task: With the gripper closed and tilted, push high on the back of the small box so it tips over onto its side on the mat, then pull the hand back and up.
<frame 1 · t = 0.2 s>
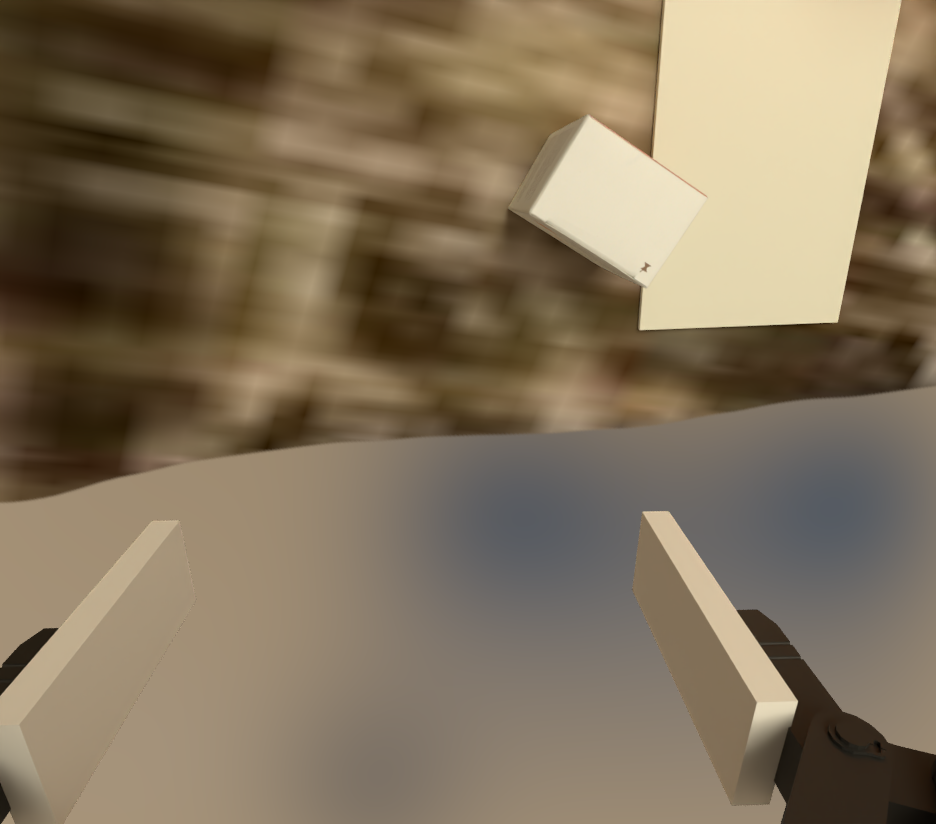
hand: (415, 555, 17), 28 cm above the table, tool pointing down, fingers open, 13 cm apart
mat: (760, 149, 39), on the table
small box: (574, 202, 40), on the table
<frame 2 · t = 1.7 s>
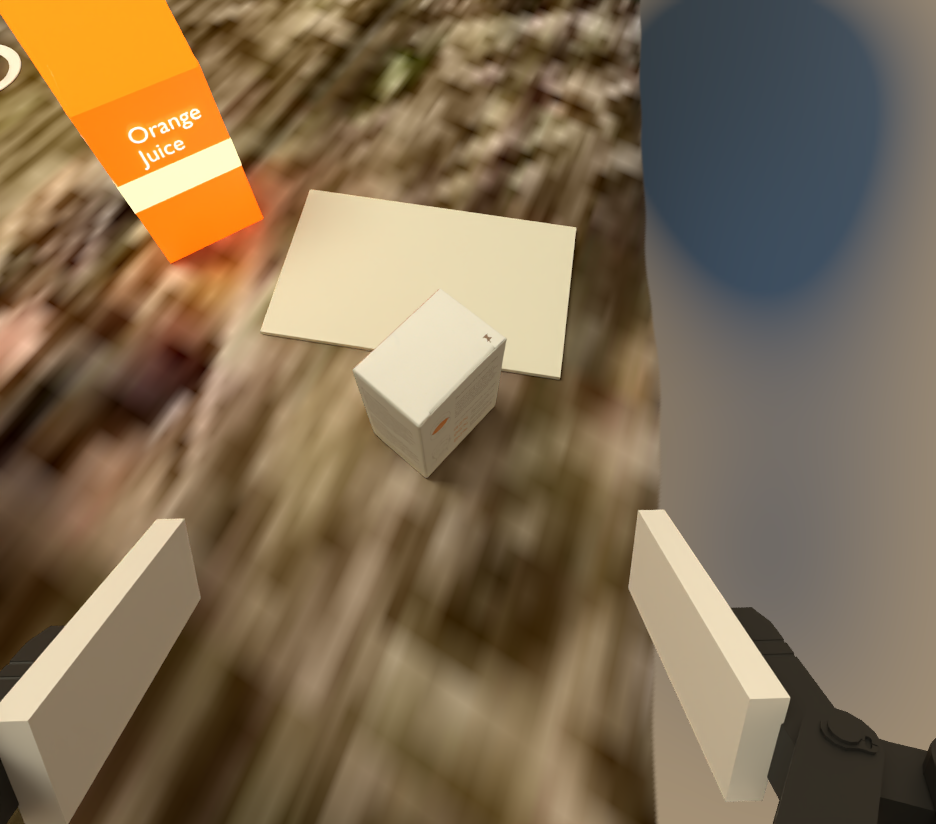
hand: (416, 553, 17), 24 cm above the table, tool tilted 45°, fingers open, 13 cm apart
mat: (426, 279, 49), on the table
orange juice: (200, 214, 52), on the table
small box: (435, 421, 44), on the table
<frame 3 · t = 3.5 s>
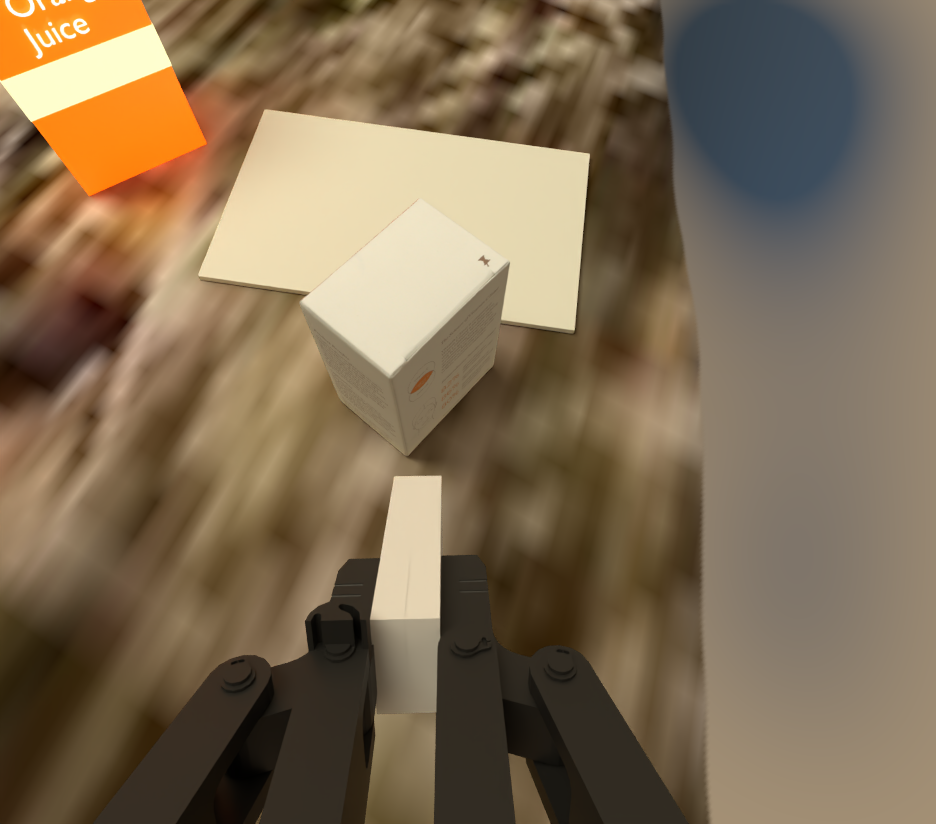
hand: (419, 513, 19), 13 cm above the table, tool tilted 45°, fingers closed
mat: (407, 214, 40), on the table
orange juice: (129, 139, 42), on the table
small box: (417, 385, 35), on the table
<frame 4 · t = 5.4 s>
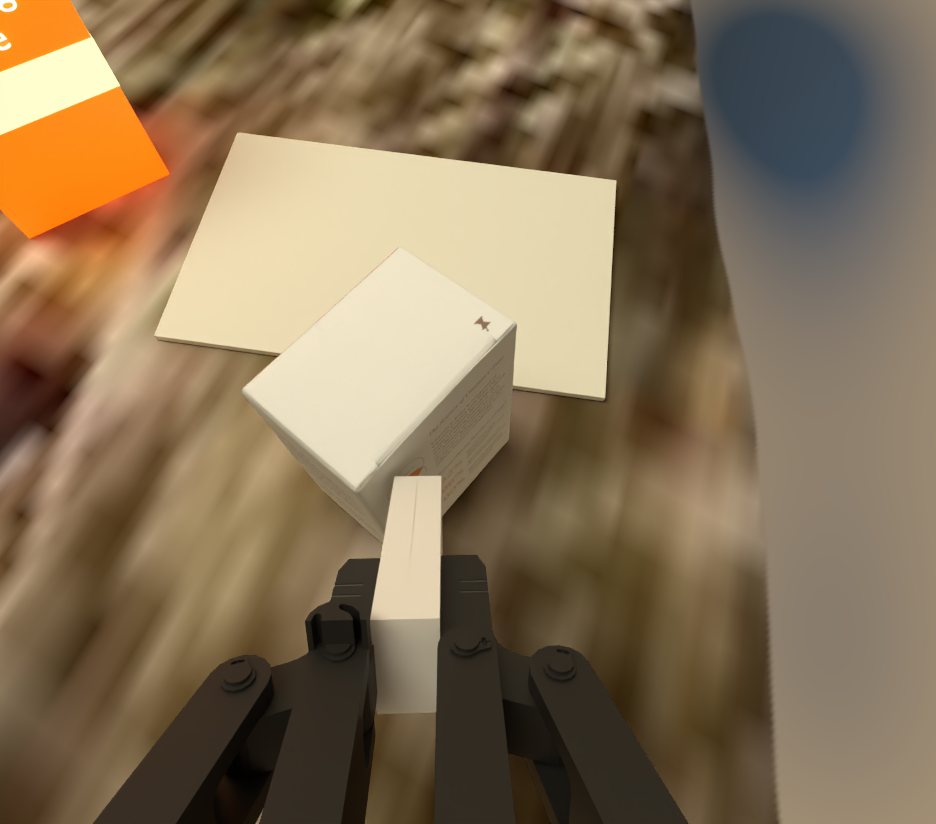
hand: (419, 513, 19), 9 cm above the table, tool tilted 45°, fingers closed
mat: (403, 256, 34), on the table
orange juice: (79, 169, 36), on the table
small box: (417, 467, 29), on the table, touching gripper
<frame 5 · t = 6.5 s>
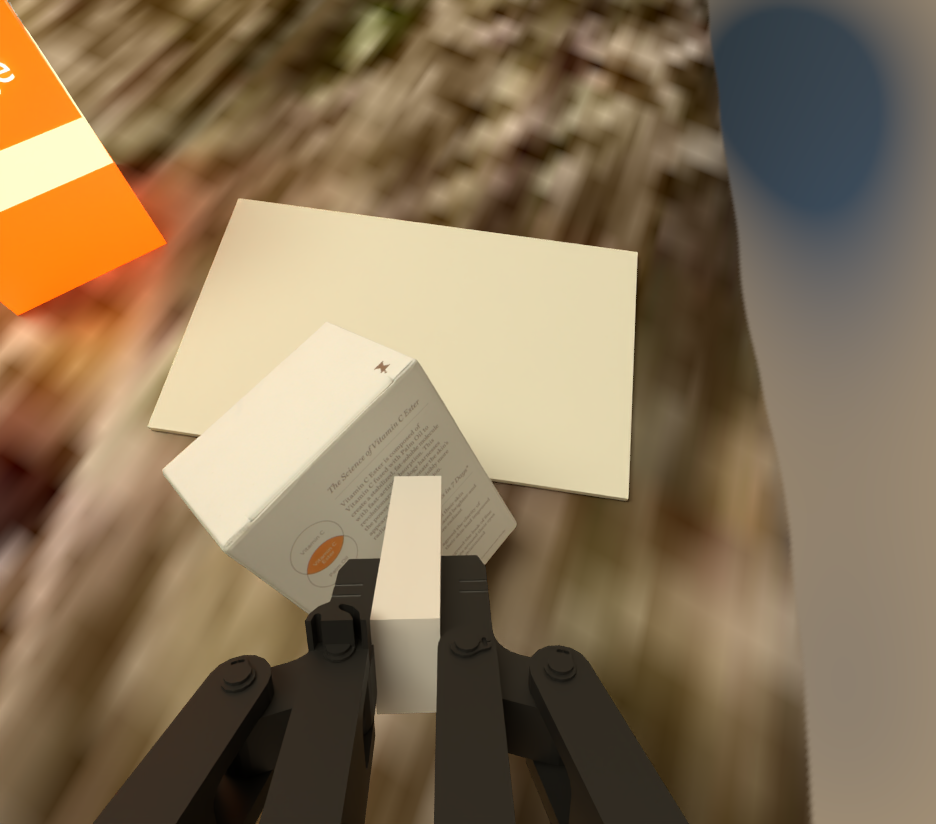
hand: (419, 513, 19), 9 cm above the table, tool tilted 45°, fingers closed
mat: (412, 336, 32), on the table
orange juice: (72, 237, 34), on the table
small box: (421, 568, 26), point 1 cm above the table
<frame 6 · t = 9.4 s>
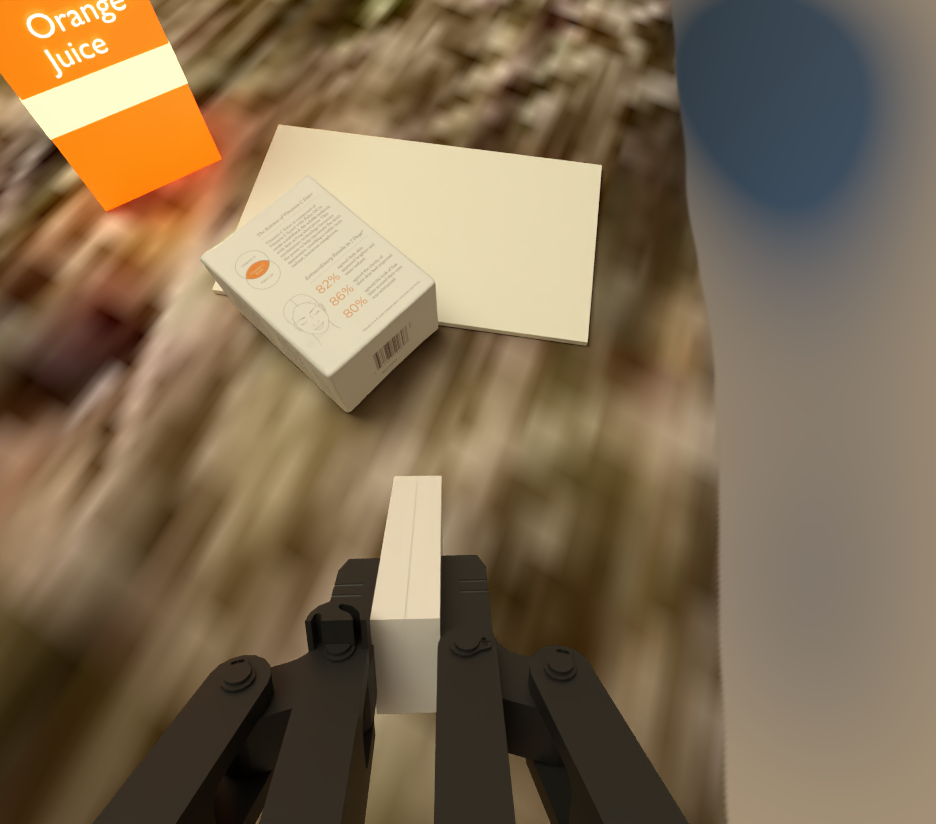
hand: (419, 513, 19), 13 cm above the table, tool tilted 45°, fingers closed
mat: (419, 227, 40), on the table
orange juice: (145, 155, 43), on the table
small box: (392, 354, 33), point 3 cm above the table, touching mat
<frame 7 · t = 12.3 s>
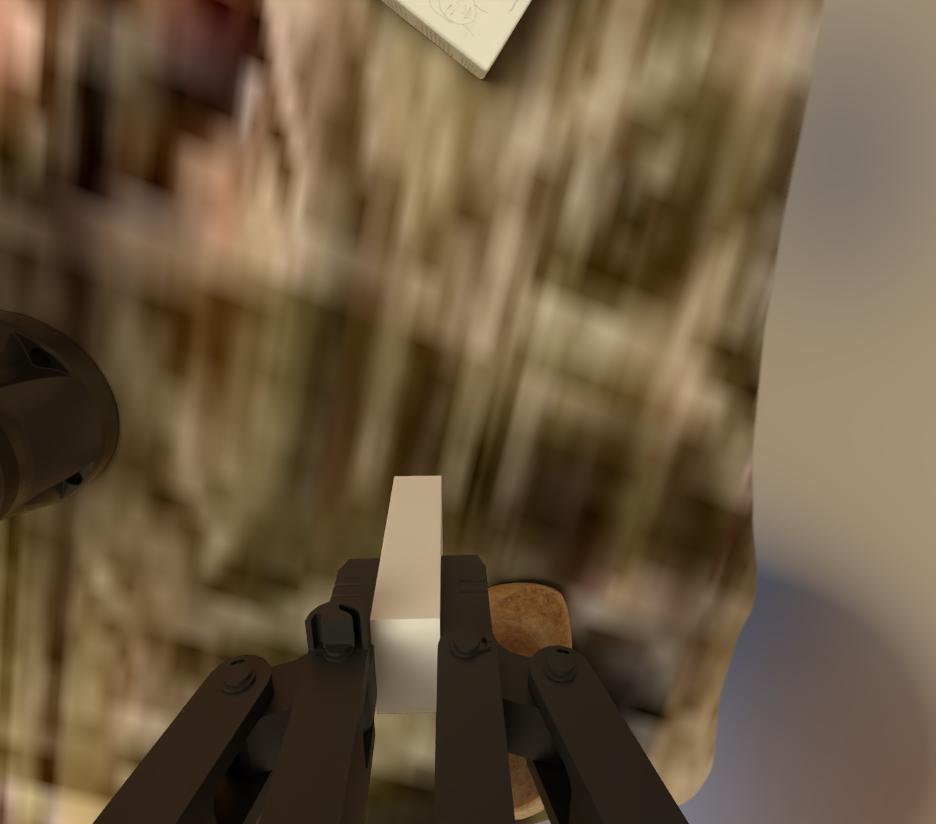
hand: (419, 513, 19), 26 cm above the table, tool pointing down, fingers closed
small box: (525, 17, 34), point 3 cm above the table, touching mat
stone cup: (505, 640, 55), on the table
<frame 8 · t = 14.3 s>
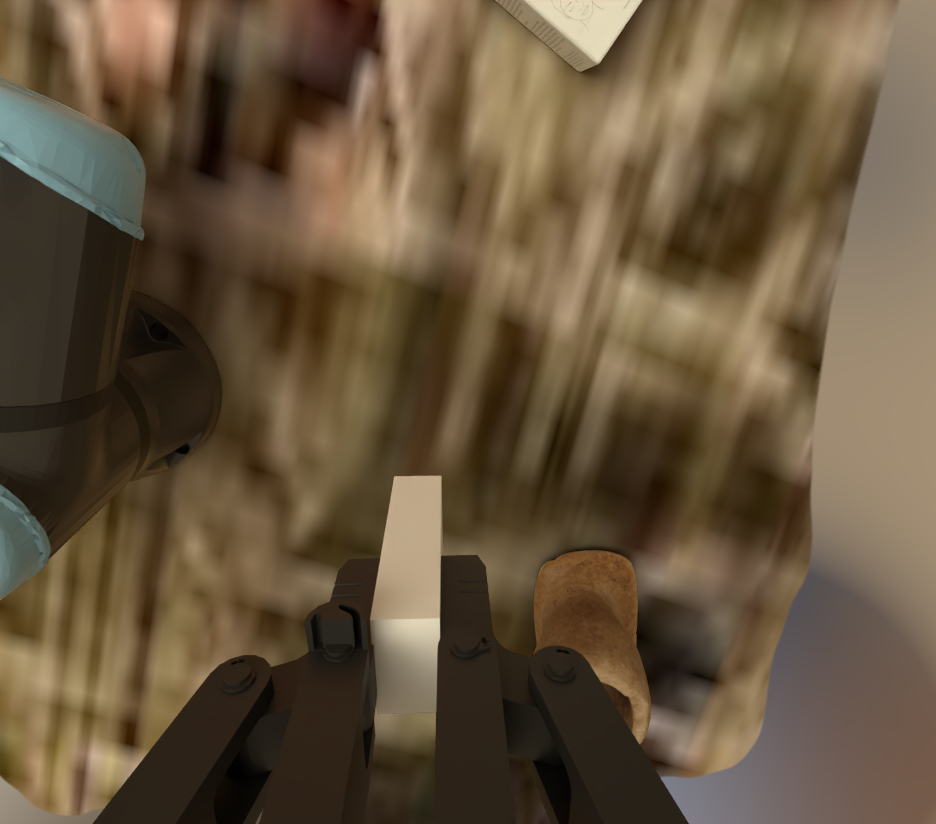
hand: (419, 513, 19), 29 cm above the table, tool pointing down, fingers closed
small box: (630, 14, 37), point 3 cm above the table, touching mat
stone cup: (571, 606, 58), on the table
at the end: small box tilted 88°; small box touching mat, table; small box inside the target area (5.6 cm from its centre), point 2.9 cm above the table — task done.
